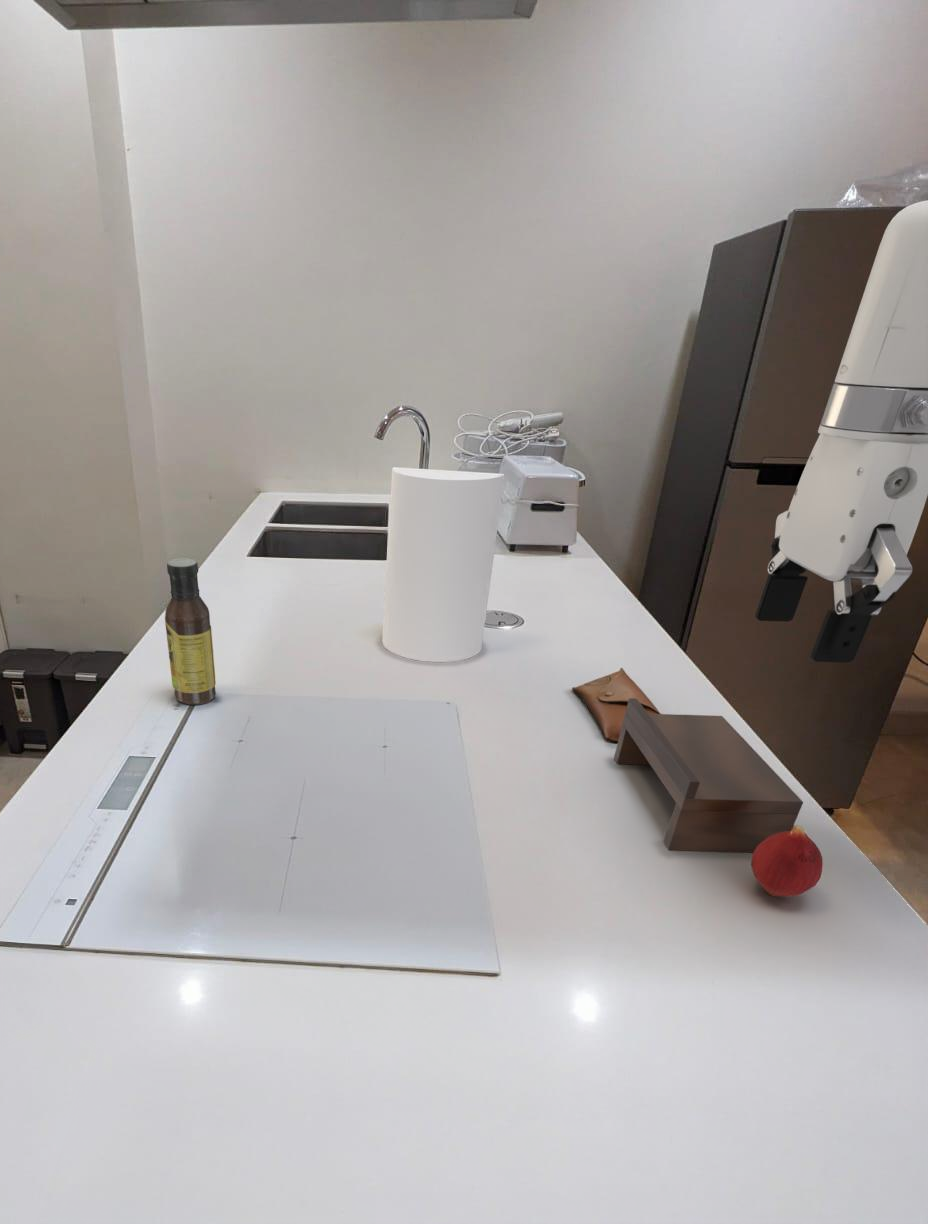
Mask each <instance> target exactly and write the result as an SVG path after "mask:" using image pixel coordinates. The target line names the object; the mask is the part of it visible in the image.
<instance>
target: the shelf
mask: <svg viewBox="0 0 928 1224" xmlns="http://www.w3.org/2000/svg"><path fill="white" fill-rule="evenodd" d="M616 744H617V745H616V748H615V751H614V756H613V760H614V761H615V763H616V764H617V765H637V766H650V767H651V769H652V770H653V771H654V772H655V774H656V776H657V777H658V779H659V780H660V781H661V783H662V785H663V786H664V787H665V789H666V790H667V792H668V794H669V795H670V796H671V798H672V800H673V801H674V802H675V805H674V808H673V811H672V815H671V817H670V821H669V823H668V827H667V830H666V833H665V836H664V839H663V843H664V845H665V846H666V848H667V850H668V851H695V852H696V851H697V852H721V853H722V852H723V853H724V852H726V853H729V852H730V853H753V852H754V850H755V849H756V847H757V846H758V845H759V844H760V843H761V842H762V841H763V840H765V839H766V838H768V837H769V836H771V835H773V834H776V833H780V832H784V831H791V830H792V828H793V826H794V825H795V823H796V821H797V818H798V816H799V814H800V811H801V809H802V807H803V804H804V801H803V799H801V798H800V797H799V796H798V794H797V793H795V792H794V791H793V789H792V788H791V787H790V786H789V785H788V784H787V783H786V782H785V781H784V780H783V779H782V777H781V776H779V774H777V772H775V771H774V769H773V768H772V767H771V766H770V765H769V764H768V763H767V762H766V761H765V760H764V759H763V758H762V756H761V755H760V754H759V753H758V752H757V751H756V750H755V749H754V748H753V747H752V745H750V744H749V742H747V741H746V739H745V738H744V737H743V736H742V735H741V734H740V733H739V732H738V731H737V730H736V729H735V728H734V727H733V726H732V725H731V724H730V722H729V721H728V720H727V719H726V718H725V717H724V716H723V715H703V714H672V713H660V714H648V713H647V712H646V710H645V709H644V708H643V706H642V705H641V704H640V702H639V701H638V700H637V699H631V698H629V700H628V704H627V708H626V712H625V716H624V720H623V724H622V728H621V732H620V736H619V740H618V742H617V743H616Z"/></svg>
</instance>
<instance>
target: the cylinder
mask: <svg viewBox="0 0 928 1224" xmlns="http://www.w3.org/2000/svg"><path fill="white" fill-rule="evenodd" d="M505 475H506V474H505V473H497V472H481V471H480V472H479V471H463V470H449V469H448V470H447V469H432V468H431V469H430V468H414V467H400V466H399V467H398V466H393V467H392V469H391V479H390V480H391V481H390V482H391V484H390V500H389V517H388V536H387V552H386V566H385V567H386V570H385V585H384V587H385V588H384V601H383V602H384V604H383V621H382V623H383V624H382V638H381V639H382V640H381V643H382V645H383V647H384V648H385V649H386V650H387V651H389V652H390V653H392V654H394V655H396V656H398V657H401V658H405V659H409V660H414V661H419V662H427V663H428V662H429V663H452V662H459V661H464V660H467V659H470V658H473V657H475V656H477V655H478V654H479V653H480V652H481V651H482V649H483V641H484V634H485V626H486V625H485V624H486V618H487V612H488V611H487V610H488V604H489V597H490V595H489V594H490V587H491V580H492V572H493V564H494V559H495V558H494V557H495V549H496V542H497V535H498V528H499V527H498V526H499V519H500V513H501V505H502V499H503V498H502V497H503V489H504V482H505Z"/></svg>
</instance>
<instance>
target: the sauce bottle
mask: <svg viewBox="0 0 928 1224" xmlns="http://www.w3.org/2000/svg"><path fill="white" fill-rule="evenodd" d="M166 570H167V571H166V572H167V573H168V575H169V582H170V584H169V585H170V594H171V595H170V596H171V597H170V600H169V602H168V604H167V606H166V608H165V613H164V624H165V625H164V626H165V631H166V642H167V650H168V658H169V667H170V675H171V676H170V677H171V684H172V688H173V691H174V697H175V699H176V701H178V702H181V703H182V704H186V705H191V706H192V705H193V706H194V705H201V704H203V705H204V704H207V703H210V702H211V701H212V700H214V698H215V697H216V694H217V693H216V691H217V690H216V685H217V684H216V683H217V682H216V681H217V680H216V669H215V658H214V657H215V656H214V655H215V654H214V645H213V632H212V631H213V630H212V626H211V618H210V617H211V615H210V610H209V607H208V606H207V604H206V603H205V601H204V600H203V598H202V597H201V596H200V588H199V580H198V579H199V578H198V573H199V565H198V561H197V560H196V559H194V558H190V557H178V558H173V559H169V560H168V561H167V563H166Z"/></svg>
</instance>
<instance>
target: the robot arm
mask: <svg viewBox="0 0 928 1224" xmlns="http://www.w3.org/2000/svg"><path fill="white" fill-rule="evenodd" d="M817 433H818V434H819V435H818V438H817V440H816V441H815V444H814V446H813V448H812V450H811V452H810V454H809V457H808V459H807V461H806V464H805V467H804V469H803V471H802V473H801V476H800V478H799V481H798V483H797V486H796V489H795V491H794V494H793V496H792V499H791V501H790V505H789V507H788V509H787V510H785V511H783V512H781V513H780V514H778V516H777V517H776V519H775V520H776V521H775V527H774V528H775V530H774V540H773V541H772V542H771V544H770V548H771V557H772V558H771V560H770V561H769V562H768V565H767V572H768V575H767V578H766V581H765V584H764V586H763V590H762V593H761V596H760V599H759V602H758V605H757V608H756V611H755V614H754V617H755V619H757V620H758V621H760V622H791V621H792V620H793V619H794V617H795V615H796V613H797V609H798V607H799V604H800V600H801V598H802V595H803V594H804V593H803V592H804V590H805V587H806V584H807V582H808V580H809V579H808V578H809V577H808V576H807V575H803V574H805V573H806V571H807V570H808V571H810V572H811V573H813V574H815V575H817V576H819V577H821V578H822V579H824V580H827V581H830V582H833V584H832V585H833V600H834V610H832V609H831V610H829V609H828V610H827V611H826V614H825V616H824V618H823V621H822V624H821V627H820V629H819V632H818V634H817V637H816V639H815V642H814V645H813V648H812V650H811V653H810V659H811V660H813V661H814V662H817V663H852V662H853V661H855V658H856V657H857V654H858V651H859V649H860V647H861V644H862V642H863V640H864V637H865V635H866V632H867V629H868V628H869V625H870V623H871V620H872V619H873V616H878V615H879V614H880V613H881V610H882V608H883V607H884V606H885V605H887V604H888V603H890V602H891V601H893V599H894V597H895V595H896V592H897V591H898V590H899V589H900V588H901V587H902V586H903V584H905V582H906V581H907V580H908V579H909V578H910V576H911V575H912V574H913V565H912V564H911V561H910V559H909V557H908V552H909V550H910V547H911V545H912V543H913V539H914V537H915V535H916V531H917V528H918V526H919V524H920V520H921V516H922V514H923V511H924V509H925V505H926V502H927V499H928V200H922V201H918V202H915V203H913V204H909V205H907V206H905V207H904V208H903V209H902V210H899V211H898V212H897V213H896V215H894V216H893V217H892V219H891V220H890V222H889V223H888V225H887V226H886V228H885V230H884V232H883V236H882V238H881V241H880V243H879V246H878V249H877V252H876V255H875V258H874V261H873V265H872V267H871V270H870V273H869V276H868V279H867V283H866V286H865V289H864V291H863V295H862V297H861V300H860V303H859V307H858V310H857V312H856V316H855V319H854V322H853V324H852V327H851V331H850V333H849V336H848V339H847V343H846V346H845V349H844V351H843V355H842V357H841V361H840V364H839V367H838V370H837V372H836V376H835V379H834V383H833V384H832V387H831V390H830V393H829V397H828V400H827V403H826V406H825V409H824V412H823V415H822V418H821V421H820V424H819V427H818V430H817ZM852 586H862V588H861V589H859V590H857V591H856V592H855V593H853V592H852ZM852 593H853V594H852Z"/></svg>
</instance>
